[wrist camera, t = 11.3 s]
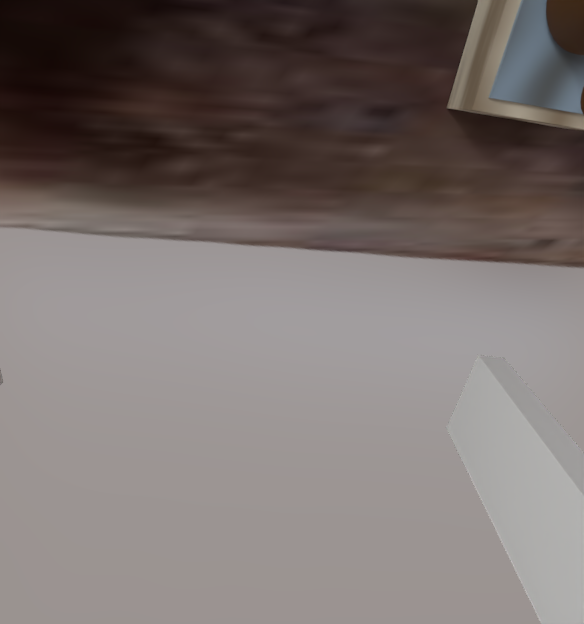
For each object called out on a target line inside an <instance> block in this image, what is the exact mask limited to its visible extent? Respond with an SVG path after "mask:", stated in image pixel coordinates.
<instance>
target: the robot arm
mask: <svg viewBox="0 0 584 624" xmlns="http://www.w3.org/2000/svg"><path fill="white" fill-rule="evenodd" d="M2 383H3V379H2V374H1V370H0V385H1V384H2ZM446 429H447V431H448V433H449V435H450V437H451V439H452V441H453V443H454V445H455V447H456V449H457V451H458V453H459V456H460V458H461V459H462V462H463V464H464V466H465V468H466V470H467V472H468V474H469V476H470V478H471V480H472V482H473V484H474V487H475V489H476V491H477V493H478V495H479V497H480V499H481V501H482V503H483V505H484V507H485V509H486V511H487V513H488V515H489V517H490V520H491V521H492V524H493V526H494V528H495V530H496V532H497V534H498V536H499V538H500V540H501V542H502V544H503V546H504V548H505V550H506V552H507V555H508V557H509V559H510V561H511V563H512V565H513V567H514V569H515V571H516V573H517V575H518V577H519V579H520V581H521V583H522V585H523V588H524V590H525V592H526V594H527V596H528V598H529V600H530V602H531V604H532V606H533V608H534V610H535V612H536V614H537V616H538V619H539V620H540V622H541V624H584V452H583V451H582V450H581V449H580V448H579V446H577V444H576V443H575V442H574V440H573V439H572V438H571V437H570V436H569V435H568V434H567V432H566V431H565V430H564V429H563V428H562V426H561V425H560V424H559V423H558V421H557V420H556V419H555V418H554V417H553V415H552V414H551V413H550V412H549V411H548V409H547V408H546V407H545V406H544V405H543V404H542V402H541V401H540V400H539V399H538V398H537V396H536V395H535V394H534V393H533V392H532V390H531V389H530V388H529V387H528V386H527V384H526V383H525V382H524V381H523V380H522V378H521V377H520V376H519V375H518V374H517V372H516V371H515V370H514V369H513V368H512V367H511V366H510V364H509V363H508V362H507V361H506V359H505V358H500V357H492V356H484V355H478V357H477V359H476V362H475V364H474V366H473V368H472V371H471V373H470V375H469V377H468V379H467V382H466V384H465V386H464V389H463V391H462V393H461V395H460V398H459V400H458V402H457V404H456V407H455V409H454V411H453V413H452V416H451V418H450V420H449V423H448V425H447V427H446Z"/></svg>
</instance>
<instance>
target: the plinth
mask: <svg viewBox="0 0 584 624" xmlns="http://www.w3.org/2000/svg"><path fill="white" fill-rule="evenodd" d="M546 3H547V0H478V3H477V7H476V10H475V14H474V17H473V20H472V24H471V27H470V31H469V34H468V37H467V41H466V44H465V48H464V51H463V54H462V58H461V61H460V65H459V68H458V71H457V75H456V78H455V82H454V85H453V88H452V92H451V95H450V99H449V102H448V105H447V108H448V109H454V110H460V111H466V112H472V113H478V114H483V115H489V116H495V117H501V118H507V119H513V120H518V121H524V122H530V123H536V124H542V125H547V126H553V127H559V128H565V129H571V130H580V131H584V115H583V112H582V110H581V103H580V101H581V94H582V90H583V87H584V55H578V54H573V53H571V52H568V51H566V50H564V49H563V48H561V47H560V46H559V45H558V44H557V43H556V41H555V40H554V39H553V37H552V35H551V33H550V30H549V27H548V23H547V17H546Z"/></svg>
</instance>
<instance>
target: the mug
mask: <svg viewBox="0 0 584 624" xmlns="http://www.w3.org/2000/svg"><path fill="white" fill-rule="evenodd" d="M546 17H547V23H548V27H549V30H550V33H551V35H552V37H553V39H554V40H555V41H556V43H557V44H558V45H559V46H560V47H561V48H563V49H564V50H566V51H568V52H571V53H573V54H578V55H584V0H547V3H546ZM580 103H581V110H582V112H583V115H584V87H583V90H582V94H581V101H580Z"/></svg>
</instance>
